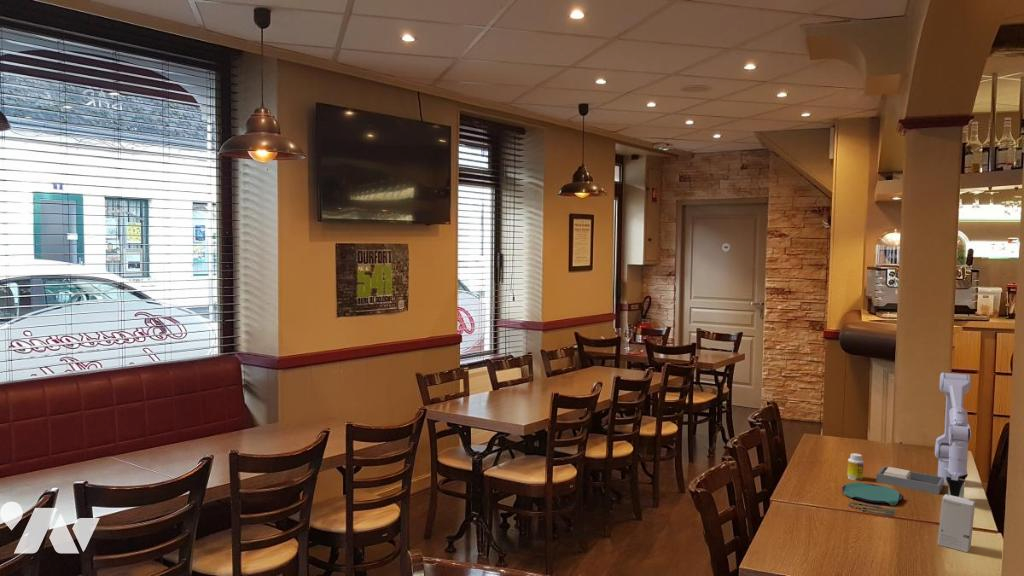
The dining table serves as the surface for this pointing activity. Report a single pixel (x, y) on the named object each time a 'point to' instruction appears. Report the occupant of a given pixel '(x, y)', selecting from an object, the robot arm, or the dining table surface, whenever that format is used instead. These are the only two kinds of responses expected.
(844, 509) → the dining table surface
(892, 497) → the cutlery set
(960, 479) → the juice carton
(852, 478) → the supplement bottle
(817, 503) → the dining table surface
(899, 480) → the tote
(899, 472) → the beige flat block
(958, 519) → the skincare box
